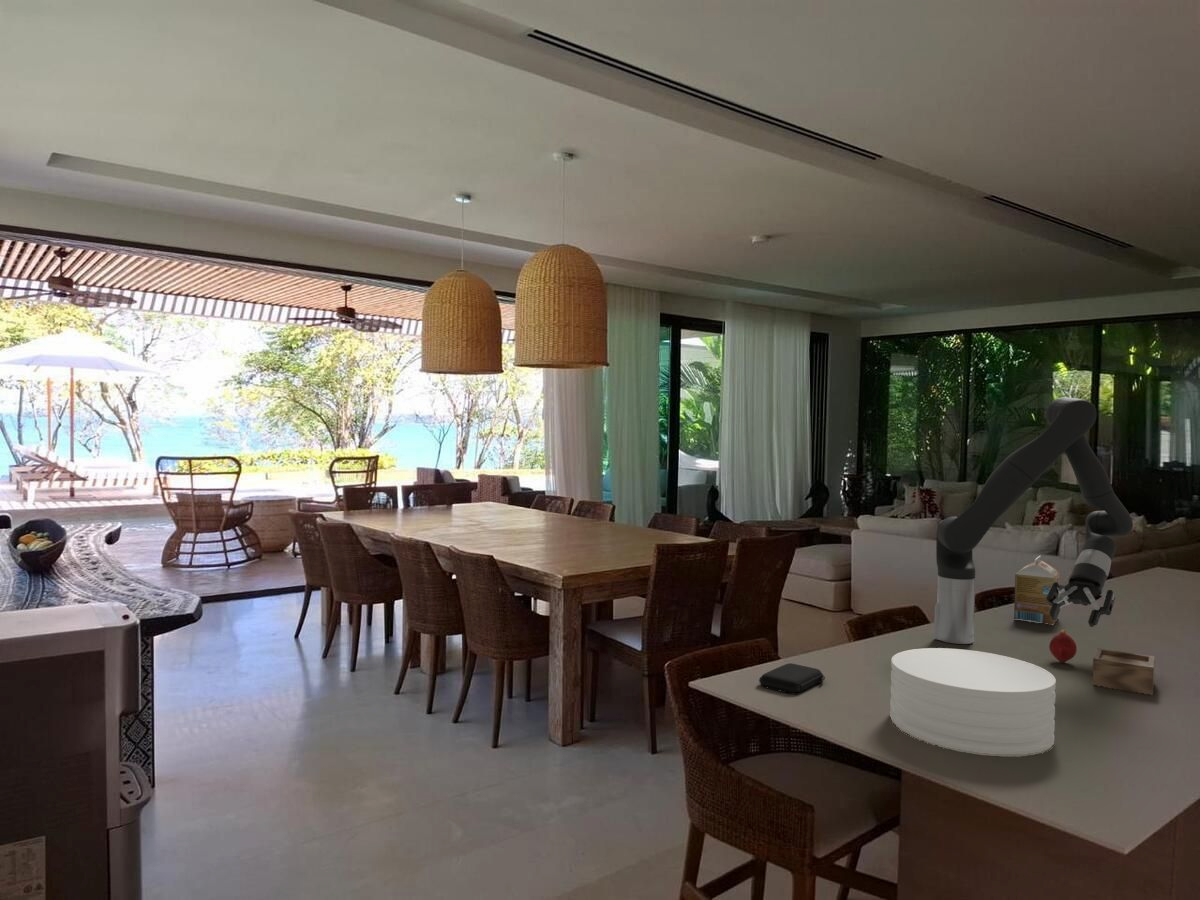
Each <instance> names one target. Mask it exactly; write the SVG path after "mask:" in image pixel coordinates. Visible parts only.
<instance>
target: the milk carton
mask: <svg viewBox="0 0 1200 900" xmlns="http://www.w3.org/2000/svg"><path fill="white" fill-rule="evenodd" d="M1041 557H1042V556H1041V555H1039V556H1037V557H1036V558H1035V559H1034V561H1033V562H1031V563H1029V564H1027V565H1025V566H1023V567H1022V568H1021V569H1019V570H1018V571H1017V572H1016V573H1015V575H1014V578H1015V579H1014V612H1013V613H1014V616H1013V620H1014V619H1023V620H1031V621H1036V622H1042V623H1048V624H1055V625H1056V623H1057V622H1058V620H1059V616H1058V617H1057V619H1058V620H1052V618H1051V616H1050V610H1051V607H1052V606H1050V605H1049V604H1048V601H1047V599H1046V597H1047V595H1048V593H1049V591H1050V589H1051V587H1052V585H1053V583H1054V582H1057V583H1058V584H1059V585H1060V575H1061V574H1060V572H1059V571H1058V570H1056V568H1054V566H1051V565H1050V564H1048V563H1047V562H1045V561H1043V560H1042V559H1041ZM1058 597H1060V594H1059V595H1058ZM1058 597H1057V598H1058ZM1056 621H1057V622H1056ZM1055 622H1056V623H1055Z"/></svg>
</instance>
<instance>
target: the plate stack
mask: <svg viewBox="0 0 1200 900" xmlns="http://www.w3.org/2000/svg"><path fill="white" fill-rule="evenodd" d="M890 663H891V664H890V666H891V667H890V668H891V671H890V681H891V683H890V695H891V696H890V702H889V703H890V709H889V710H890V711H889V716H890V717H891V719H892V721H893V722H894V723H895V724H896V725H897V726H898V727H900V728H901V729H902V730H904V731H906V732H908V733H910V734H912V735H914V736H916V737H919V738H921V739H924V740H926V741H929V742H932V743H935V744H939V745H942V746H945V747H950V748H955V749H961V750H966V751H973V752H979V753H989V754H1028V753H1035V752H1041V751H1043V750H1046V749H1048V748H1050V747H1051V746H1052V745H1053V744H1054V745H1055V734H1054V733H1055V727H1056V721H1055V716H1056V706H1055V704H1056V697H1057V696H1056V691H1055V690H1056V687H1057V686H1056V684H1057V680H1056V677H1055V676H1054V675H1053V673H1051V672H1050V671H1048V670H1046V669H1044V668H1043V667H1041V666H1038V665H1037V664H1035V663H1034V664H1033V663H1030V662H1028V661H1024V660H1021V659H1018V658H1014V657H1010V656H1006V655H1001V654H996V653H991V652H985V651H981V650H969V649H962V648H961V649H960V648H948V647H945V648H943V647H937V648H936V647H929V648H928V647H924V648H923V647H922V648H915V649H913V648H912V649H908V650H904V651H899V652H898V653H896V654H893V656H892V657H891V661H890ZM890 717H889V718H890Z"/></svg>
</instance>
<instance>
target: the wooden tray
mask: <svg viewBox="0 0 1200 900" xmlns="http://www.w3.org/2000/svg"><path fill="white" fill-rule="evenodd" d="M1155 658H1156V657H1155V656H1154V655H1146V654H1140V653H1134V652H1133V653H1132V652H1126V651H1125V652H1124V651H1120V650H1112V649H1105V648H1098V647H1097V648H1096V651H1095V654H1094V655H1093V659H1092V662H1093V663H1092V686H1094V685H1097V686H1096V687H1100V686H1103V687H1102V688H1106V687H1107V689H1112V688H1113V690H1118V689H1119V691H1124V690H1125V692H1130V691H1131V692H1132V693H1136V692H1138V693H1137V694H1141V693H1144V694H1143V695H1147V694H1150V695H1149V696H1153V695H1154V687H1153V686H1154V685H1155V664H1156V663H1155Z"/></svg>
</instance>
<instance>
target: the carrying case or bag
mask: <svg viewBox="0 0 1200 900" xmlns="http://www.w3.org/2000/svg"><path fill="white" fill-rule="evenodd" d="M825 679H826V676H825V674H823V672H822V671H821V670H820V669H818V668H814V667H810V666H806V665H801V664H796V663H789V662H788V663H785V664H783V665H781V666H778V667H776V668H774V669H771V670H769V671H767V672H765V673H764V674H762V675H761V676H760V677H759V679H758V682H759V684H761V686H762V687H763V686H764V687H763V688H765V687H768V688H767V689H769V688H772V689H771V690H773V689H776V690H775V691H777V690H781V691H785V692H790V693H797V694H799V693H801V692H803V691H805V690H807V689H809V688H811V687H813V686H815V685H816V683H817V684H818V682H819V683H821V684H823V683H824V682H825ZM814 684H815V685H814ZM812 685H813V686H812ZM810 686H811V687H810ZM808 687H809V688H808ZM806 688H807V689H806ZM804 689H805V690H804ZM802 690H803V691H802ZM781 691H780V692H781ZM785 692H784V693H785ZM798 692H799V693H798ZM790 693H789V694H790Z"/></svg>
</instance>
